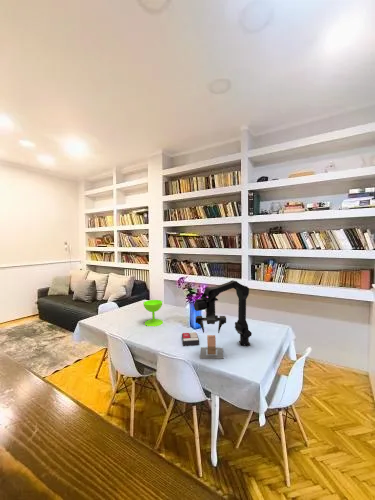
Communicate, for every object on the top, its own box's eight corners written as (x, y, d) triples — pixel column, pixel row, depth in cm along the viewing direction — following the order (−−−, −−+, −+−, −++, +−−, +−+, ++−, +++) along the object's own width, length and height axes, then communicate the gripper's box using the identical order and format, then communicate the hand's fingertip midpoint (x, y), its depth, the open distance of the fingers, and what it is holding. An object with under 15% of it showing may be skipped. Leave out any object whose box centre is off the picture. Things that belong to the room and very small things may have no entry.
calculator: (196, 331, 182) (199, 339, 167) (196, 337, 182) (199, 345, 167) (181, 332, 181) (182, 340, 166) (181, 338, 181) (183, 346, 166)
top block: (207, 342, 158) (207, 335, 157) (215, 342, 157) (215, 335, 157) (207, 346, 153) (207, 338, 152) (215, 346, 152) (215, 338, 152)
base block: (207, 350, 158) (207, 342, 158) (215, 350, 158) (215, 342, 157) (207, 354, 153) (207, 346, 153) (215, 354, 153) (215, 346, 152)
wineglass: (140, 325, 206) (140, 304, 205) (149, 319, 222) (148, 299, 221) (158, 327, 202) (157, 305, 201) (166, 320, 217) (165, 300, 216)
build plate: (200, 347, 163) (200, 347, 163) (222, 348, 162) (222, 347, 162) (200, 358, 149) (200, 357, 149) (223, 358, 148) (223, 358, 148)
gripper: (194, 312, 146) (195, 338, 147) (226, 312, 145) (227, 338, 146) (195, 306, 158) (196, 330, 159) (225, 306, 156) (226, 331, 157)
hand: (211, 332), depth 155 cm, fingers open, 9 cm apart
